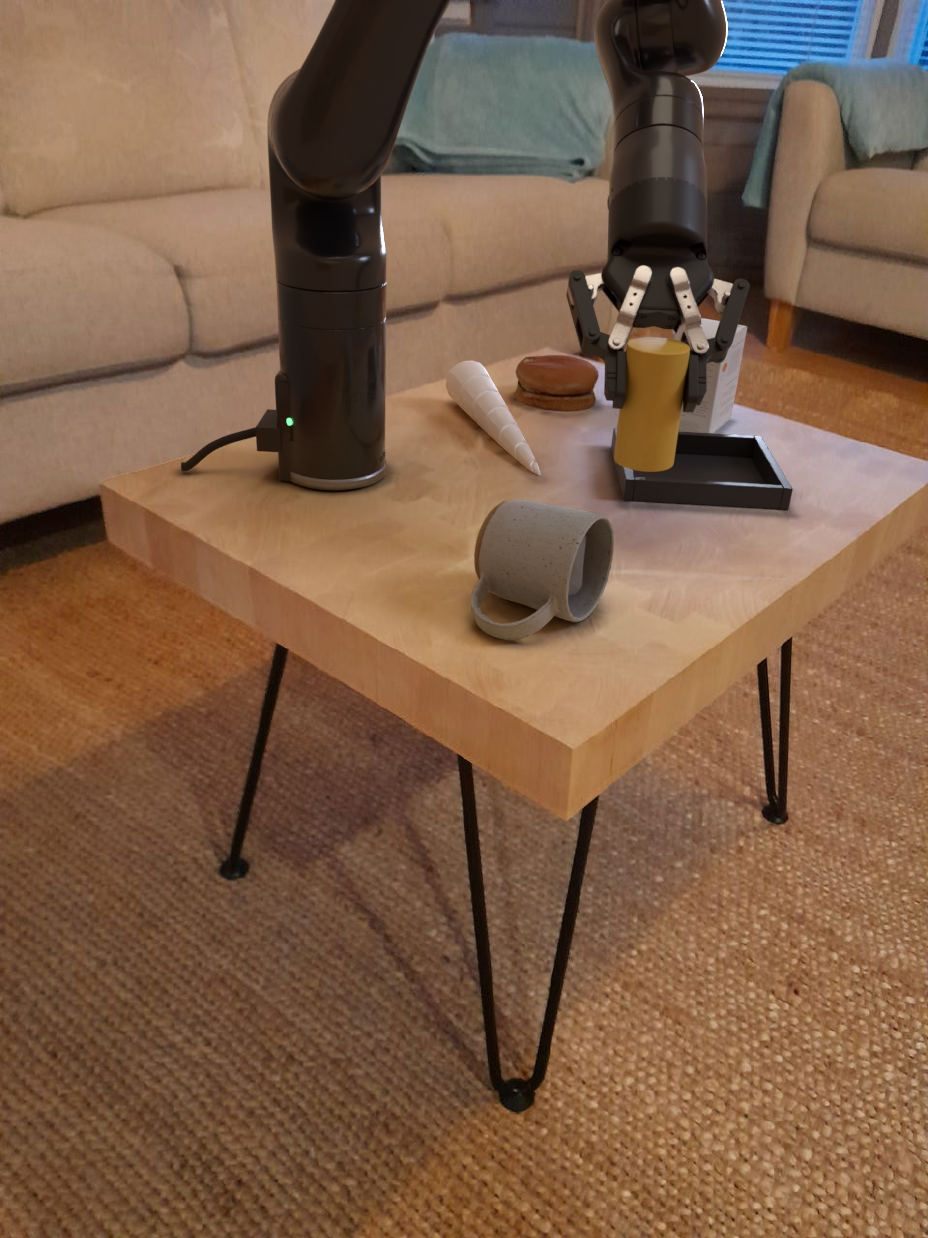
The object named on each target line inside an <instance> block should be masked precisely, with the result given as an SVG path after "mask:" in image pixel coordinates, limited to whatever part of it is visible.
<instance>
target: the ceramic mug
mask: <svg viewBox="0 0 928 1238" xmlns="http://www.w3.org/2000/svg"><path fill="white" fill-rule="evenodd" d="M614 546H615V538H614V528H613V525H612V523H611V521H610V519H609V518H608V516H606V515H605V514H603V513H600V512H595V511H588V510H582V509H577V508H570V507H566V506H559V505H554V504H548V503H544V502H539V501H534V500H528V499H527V500H526V499H509V500H503V501H502V502H500V503H498V504H497V505H495V506H494V507H493V508H492V509H491V510H490V511H489V513H488V514H487V515H486V517H485V518H484V521H482V524H481V526H480V528H479V531H478V533H477V537H476V541H475V545H474V555H473V565H474V571H475V574H476V577H477V579H478V581H477V582H476V583H475V585H474V587H473V589H472V591H471V595H470V610H471V613H472V616H473V619H474V621H475V623H476V625H477V626H478V627H479V628H480V630H481V631H482V632H484V634H487V635H489V636H490V637H493V638H496V639H499V640H505V641H506V640H507V641H513V640H520V639H524V638H528V637H530V636H532V635H535V634H536V633H538V632H539V631H540V630H542V629H543V628H544V627H545V626H546V625H547V624H548V623H549V622H550V621H551V620H553V618H554V617H556V618H559V619H562V620H565V621H568V622H572V623H578V622H582V621H584V620H585V619H587V618H588V617H589V616H590V615H591V614H592V613H593V612H594V610H595V609H596V607H597V605H598V604H599V602H600V600H601V598H602V597H603V594H604V593H605V590H606V587H607V584H608V582H609V578H610V573H611V571H612V563H613V558H614V557H613V556H614V548H615V547H614ZM488 593H491V594H493V595H495V596H497V597H498V598H501V599H504V600H506V601H507V600H508V601H510V602H514V603H517V604H520V605H523V606H526V607H529V608H531V609H533V610H536V611H535V612H533V613H532V614H530V615H529V616H527V617H525V618H523V619H520V620H517V621H513V622H507V623H498V622H494V621H492V620H491V618H490V617H489V616H487V615H485V614H484V613H483V611H482V610H481V606H482V603H483V601H484V598H485V597H486V595H487V594H488Z"/></svg>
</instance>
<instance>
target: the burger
mask: <svg viewBox="0 0 928 1238" xmlns="http://www.w3.org/2000/svg"><path fill="white" fill-rule="evenodd" d="M515 375H516V378H517V385H516V386H517V387H516V389H515V390H514V393H513V398H514V401H516V402H519V403H522V404H524V405H527V406H531V407H538V408H541V409H545V410H552V411H561V412H576V411H583V410H586V409H590V408H592V407H593V406H594V405H595V404H596V400H597V398H596V394H595V391H594V388H595V387H596V384H597V382H598V379H599V369H597V367H596V366H595V365H594V364H592V363H591V362H590V361H588V360H585V359H583V358H580V357H576V356H573V355H566V354H546V355H533V356H531V355H530V356H526V357H524V358H522V359H521V360H520V362H518V364H517V365H516V369H515Z"/></svg>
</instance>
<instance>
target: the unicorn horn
mask: <svg viewBox="0 0 928 1238" xmlns="http://www.w3.org/2000/svg"><path fill="white" fill-rule="evenodd" d="M445 389H446V390H447V394H448V396H449V397H450V398H451V399H452V400H453V402H454V403H455V404H457V405H458V406H459V407H460V409H461V410H463V411H464V412H465V413H466V414H467V415H468V416H469V418H471V419H472V420H473V422H475V423H476V424H477V425H478V426H479V427H480V428H481V429H482V430H483V431H484V432H485V433H486V434H487V435H488V436H489V437H491V438H492V439H493V440H494V442H496V443H497V444H498V445H499V446H500V447H501V448H503V449H504V450H505V451H506V452H507V453H508V454H509V455H510V456H511V457H512V458H514V459H515V460H516V461H518V463H519V464H520V465H522V466H523V467H524V468H526V469H527V470H528V471H530V472H531V473H533V474H535V475H536V476H541V475H542V473H541V470H540V467H539V465H538V462H537V461H536V458H535V456H534V453H533V452H532V450H531V448H530V446H529V444H528V443H527V440H526V438H525V437H524V434H523V433H522V430H521V429H520V428H519V426H518V423H517V422H516V419H515V418H514V416H513V414H512V412H511V410H510V409H509V407H508V406H507V403H506V402H505V400H504V398H503V397H502V395H501V394H500V391H499V390H498V388H497V386H496V384H495V382H494V381H493V380H492V377H491V375H490V374H489V372H488V370H487V369H486V368H485V366H484V365H483V364H482V363H481V362H478V361H477V360H476V361H475V360H472V359H471V360H463V361H460V362H458V363H456V364H454V365H453V366H452V367H451V368H450V369H449V371H448V373H447V375H446V378H445Z"/></svg>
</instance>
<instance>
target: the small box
mask: <svg viewBox="0 0 928 1238" xmlns="http://www.w3.org/2000/svg"><path fill="white" fill-rule="evenodd" d="M719 322H720V320H715V319H711V318H710V319H709V318H703V317H701V325H702V328H703V331H704V334H705V336H706V339H710V338H714V337H715V335H716V332H717V329H718V325H719ZM747 331H748V326H747V325H742V324H738V326H737V330H736V333H735V336H734V339H733V343H732V345H731V347H730V348H729V350H728V352H727V355H726V358H725V360H724V361H723V362H721V363H714V362H710V363H707V378H706V379H707V383H706V384H707V391H706V393H705V395H704V398H703V400H702V402H701V404H700V405H696V407H695V409H694V412H693V413H692V412H683V403H682V410H681V417H680V423H679V430H678V431H679V432H697V433H714V434H715V433H716V432H717V431H718V430H719V429H720V428H721V427H723V425H725V424H726V423H727V422H728V421H730V420H731V419H732V415H733V408H734V403H735V398H736V392H737V389H738V388H737V387H738V383H739V378H740V377H739V376H740V370H741V367H742V366H741V365H742V361H743V352H744V348H745V343H746V337H747ZM671 333H672V332H671ZM671 339H673V340H675V338H674V336H673V333H672V334H671Z"/></svg>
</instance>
